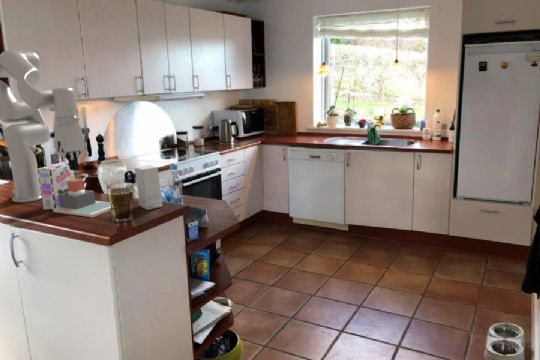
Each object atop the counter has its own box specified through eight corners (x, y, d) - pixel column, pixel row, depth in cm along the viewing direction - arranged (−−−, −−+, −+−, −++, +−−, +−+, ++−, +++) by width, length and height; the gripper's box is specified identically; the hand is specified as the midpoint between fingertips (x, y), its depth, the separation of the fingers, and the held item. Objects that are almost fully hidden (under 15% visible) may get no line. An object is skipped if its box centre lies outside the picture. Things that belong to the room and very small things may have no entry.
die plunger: (65, 201, 176) (62, 181, 175) (78, 197, 182) (75, 178, 180) (77, 203, 174) (74, 182, 172) (89, 199, 179) (86, 179, 177)
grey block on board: (53, 211, 174) (51, 196, 173) (84, 201, 187) (82, 187, 186) (92, 217, 165) (90, 201, 164) (121, 206, 179) (120, 191, 177)
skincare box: (162, 207, 175) (159, 167, 172) (145, 210, 172) (141, 169, 168) (154, 202, 182) (150, 164, 179) (138, 205, 178) (134, 166, 175)
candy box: (55, 210, 175) (49, 168, 172) (42, 210, 177) (36, 168, 173) (78, 201, 188) (73, 161, 185) (66, 200, 190) (61, 161, 186)
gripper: (76, 119, 179) (82, 165, 183) (43, 123, 166) (50, 173, 170) (90, 119, 176) (96, 166, 180) (57, 123, 163) (65, 174, 167)
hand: (74, 169), depth 175 cm, fingers closed
